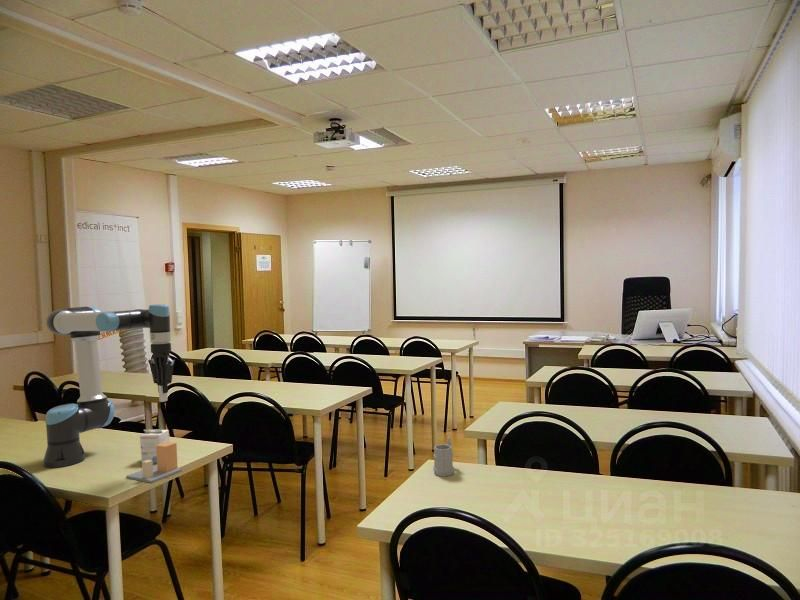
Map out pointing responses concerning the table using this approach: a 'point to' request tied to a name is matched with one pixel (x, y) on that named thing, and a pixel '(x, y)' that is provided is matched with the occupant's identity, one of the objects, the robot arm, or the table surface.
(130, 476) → the post board
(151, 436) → the ink box
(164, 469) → the peach carton
